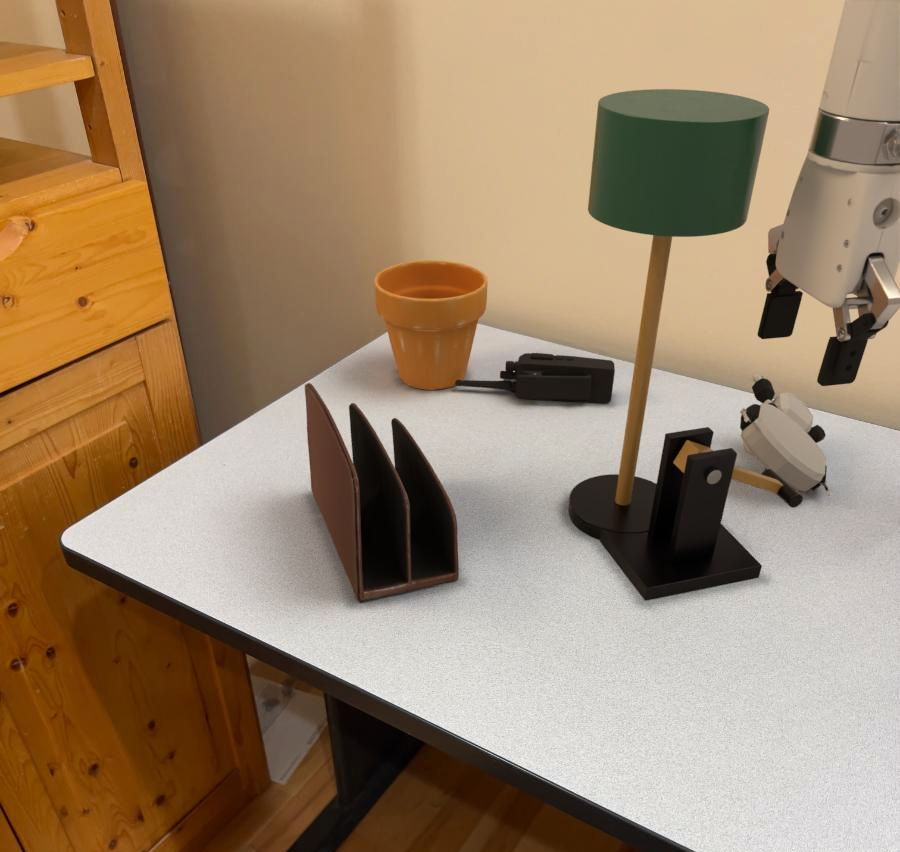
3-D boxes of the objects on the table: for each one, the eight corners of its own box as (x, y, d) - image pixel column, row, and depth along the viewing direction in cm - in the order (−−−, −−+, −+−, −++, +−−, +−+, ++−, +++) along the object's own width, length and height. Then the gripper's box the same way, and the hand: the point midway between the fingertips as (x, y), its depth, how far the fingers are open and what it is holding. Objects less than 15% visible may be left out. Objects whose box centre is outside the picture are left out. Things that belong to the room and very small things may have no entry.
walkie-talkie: (616, 348, 109) (455, 341, 110) (613, 397, 108) (451, 389, 110) (611, 367, 115) (458, 359, 116) (608, 413, 114) (455, 405, 116)
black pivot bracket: (705, 521, 91) (730, 409, 83) (758, 578, 84) (792, 460, 76) (599, 541, 88) (614, 426, 80) (645, 601, 81) (667, 481, 73)
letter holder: (357, 604, 81) (346, 470, 72) (311, 494, 95) (297, 371, 86) (460, 582, 83) (461, 450, 74) (400, 478, 98) (395, 357, 89)
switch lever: (764, 486, 87) (778, 466, 86) (793, 513, 84) (809, 492, 82) (665, 455, 81) (679, 432, 80) (692, 482, 77) (707, 459, 76)
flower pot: (427, 410, 110) (425, 308, 102) (357, 374, 118) (350, 277, 110) (506, 377, 118) (511, 280, 109) (436, 345, 126) (435, 252, 118)
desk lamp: (668, 480, 98) (740, 88, 74) (698, 549, 87) (793, 121, 63) (551, 482, 97) (585, 89, 73) (567, 552, 87) (614, 122, 63)
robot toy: (733, 384, 103) (718, 445, 92) (763, 357, 100) (750, 417, 89) (808, 451, 105) (801, 518, 94) (840, 427, 102) (837, 493, 91)
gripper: (989, 166, 59) (903, 399, 70) (842, 114, 72) (789, 318, 83) (891, 171, 58) (819, 408, 69) (760, 117, 71) (716, 324, 82)
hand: (803, 359), depth 76 cm, fingers open, 9 cm apart
